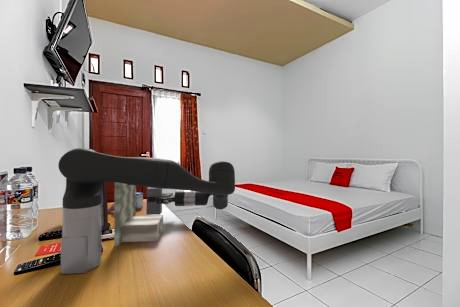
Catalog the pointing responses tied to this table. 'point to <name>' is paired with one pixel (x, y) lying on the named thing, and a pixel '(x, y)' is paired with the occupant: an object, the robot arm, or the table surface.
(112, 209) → the video game controller
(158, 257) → the table surface
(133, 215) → the wall shelf
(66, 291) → the table surface
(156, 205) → the dark grey block
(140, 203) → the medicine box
